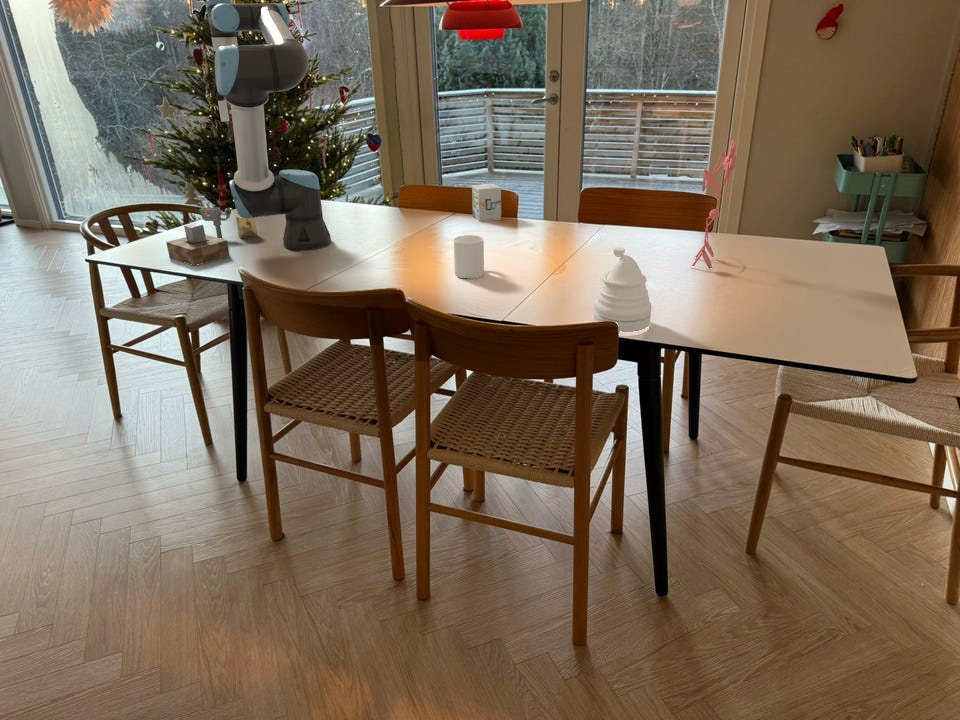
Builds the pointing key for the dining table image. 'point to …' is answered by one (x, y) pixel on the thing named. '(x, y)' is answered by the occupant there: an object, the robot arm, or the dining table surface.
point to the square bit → (195, 233)
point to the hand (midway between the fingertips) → (237, 122)
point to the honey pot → (624, 295)
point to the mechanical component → (215, 217)
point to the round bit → (246, 227)
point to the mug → (469, 256)
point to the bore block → (198, 250)
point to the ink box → (486, 202)
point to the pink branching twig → (712, 182)
